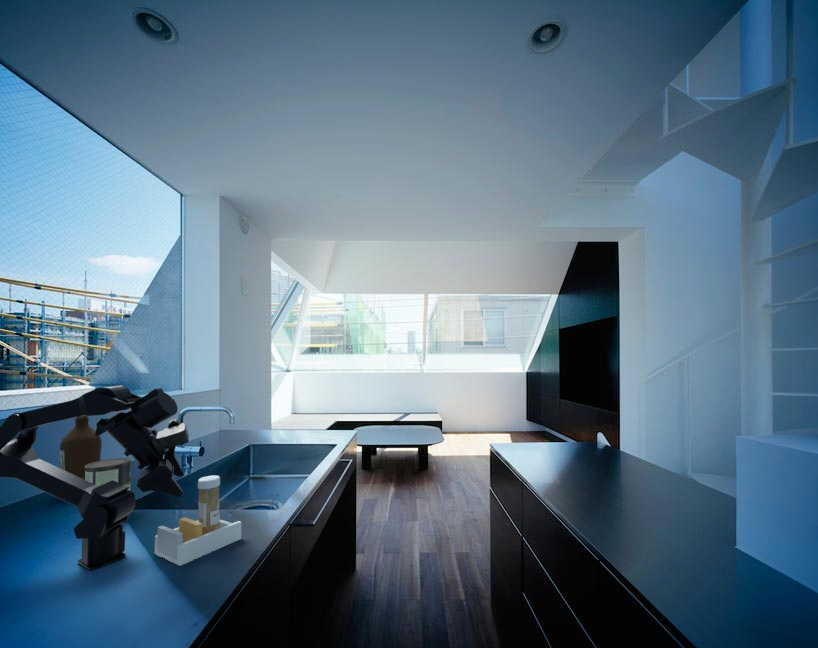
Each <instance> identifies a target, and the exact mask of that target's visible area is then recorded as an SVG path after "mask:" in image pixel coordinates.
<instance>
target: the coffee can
mask: <svg viewBox="0 0 818 648" xmlns="http://www.w3.org/2000/svg"><path fill="white" fill-rule="evenodd" d="M131 464H132V458H129V457H115V458H108V459H102V460H101V459H100V461H96V462H93V463H90V464H87V465H86V466H85V480H86V481H88V482H90V483H93V484H95V485H98V486H100V485H102V484H105V483H107V482H109V481H111V480H113V481H116V482H118V483H119V484H120V485H122V486H126V487H130V488H129V489H127V490H130V491H131V476H132V474H131V471H132V469H131V467H132V466H131Z"/></svg>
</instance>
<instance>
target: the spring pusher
mask: <svg viewBox="0 0 818 648" xmlns="http://www.w3.org/2000/svg"><path fill="white" fill-rule="evenodd" d="M178 527H179V532H181V533H183V542H182V543H184V542H187V541H189V540H192V539H194V538H197V537H199V536H202V523H200V522H197V520H194V519H190V518H188V517H185V516H184V517H181V518H179V519H178Z"/></svg>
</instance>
